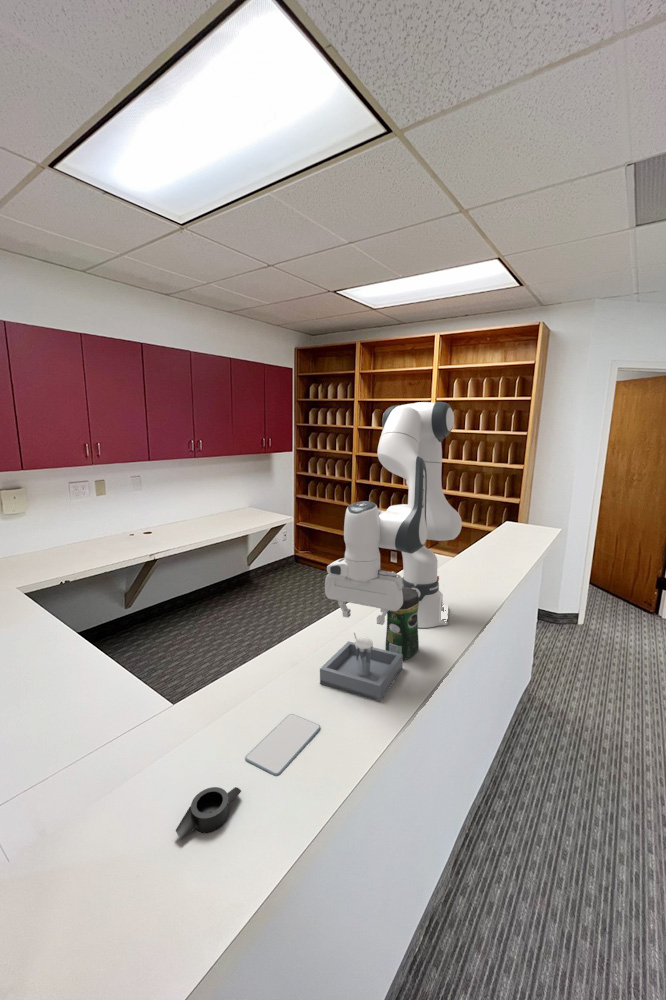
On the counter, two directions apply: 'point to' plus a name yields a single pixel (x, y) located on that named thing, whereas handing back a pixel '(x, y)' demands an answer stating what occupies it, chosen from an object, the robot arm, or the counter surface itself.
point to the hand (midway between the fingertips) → (363, 619)
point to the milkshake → (363, 655)
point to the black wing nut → (207, 811)
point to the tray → (346, 677)
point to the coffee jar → (404, 626)
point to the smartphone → (283, 744)
